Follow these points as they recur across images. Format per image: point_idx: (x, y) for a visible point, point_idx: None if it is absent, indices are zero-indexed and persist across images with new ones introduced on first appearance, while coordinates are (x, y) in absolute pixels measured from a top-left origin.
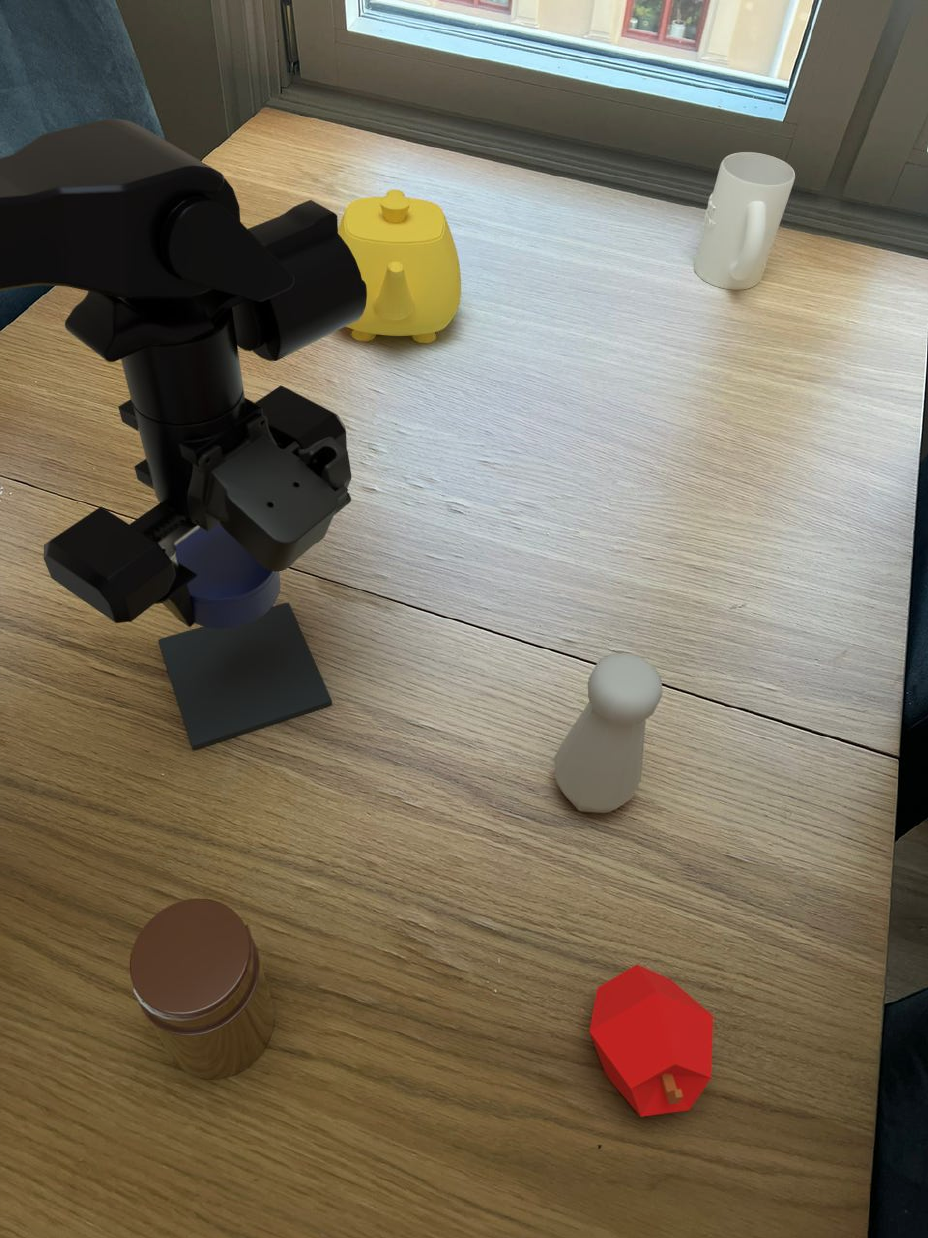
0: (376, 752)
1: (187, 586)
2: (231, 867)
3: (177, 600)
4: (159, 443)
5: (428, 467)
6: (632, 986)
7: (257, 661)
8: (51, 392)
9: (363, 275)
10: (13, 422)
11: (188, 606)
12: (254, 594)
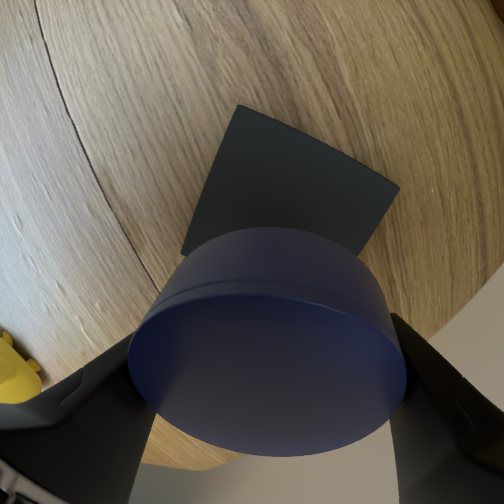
0: (249, 21)
1: (448, 425)
2: (457, 61)
3: (472, 396)
4: None
5: (22, 268)
6: None
7: (263, 217)
8: (209, 454)
9: (10, 394)
10: (240, 456)
11: (423, 361)
12: (284, 281)
